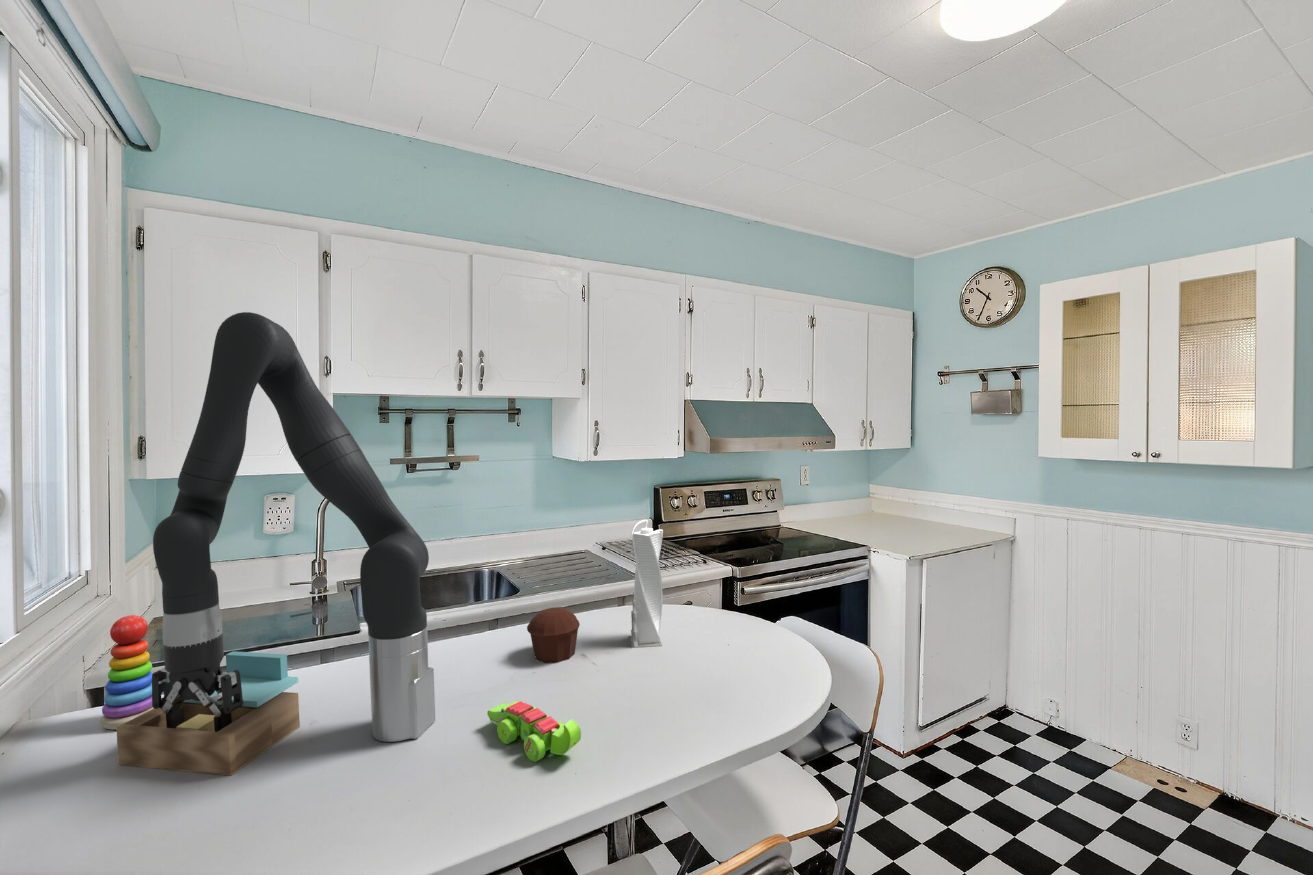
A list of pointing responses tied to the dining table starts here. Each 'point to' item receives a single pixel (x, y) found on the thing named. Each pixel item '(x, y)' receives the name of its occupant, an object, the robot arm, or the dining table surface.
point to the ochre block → (199, 723)
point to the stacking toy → (128, 673)
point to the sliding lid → (258, 676)
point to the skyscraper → (646, 588)
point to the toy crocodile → (534, 729)
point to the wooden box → (207, 737)
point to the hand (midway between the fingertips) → (199, 734)
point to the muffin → (553, 635)
